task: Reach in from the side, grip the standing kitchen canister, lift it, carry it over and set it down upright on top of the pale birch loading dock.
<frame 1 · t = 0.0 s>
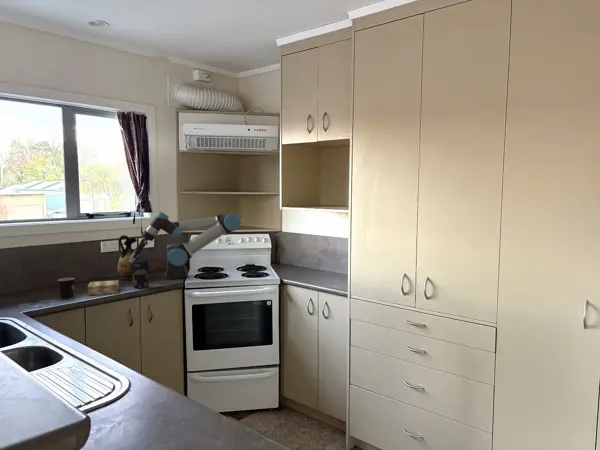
hand: (130, 260, 287), 15 cm above the counter, tool tilted 35°, fingers open, 13 cm apart
coffee mug: (69, 296, 257), on the counter
dock: (103, 291, 268), on the counter
ceramic jug: (128, 278, 307), on the counter
canister: (141, 287, 279), on the counter
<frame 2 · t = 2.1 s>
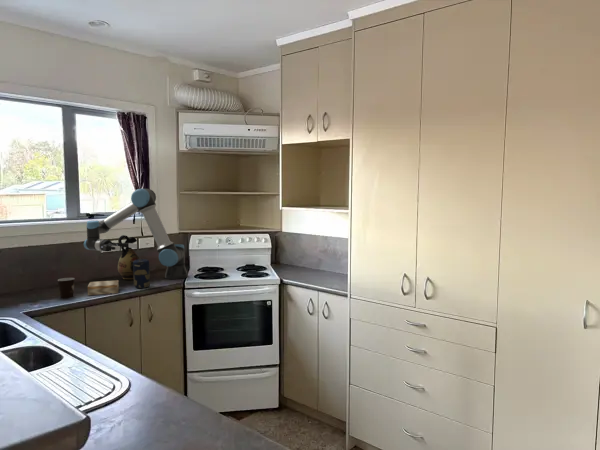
hand: (128, 247, 281), 25 cm above the counter, tool horizontal, fingers open, 13 cm apart
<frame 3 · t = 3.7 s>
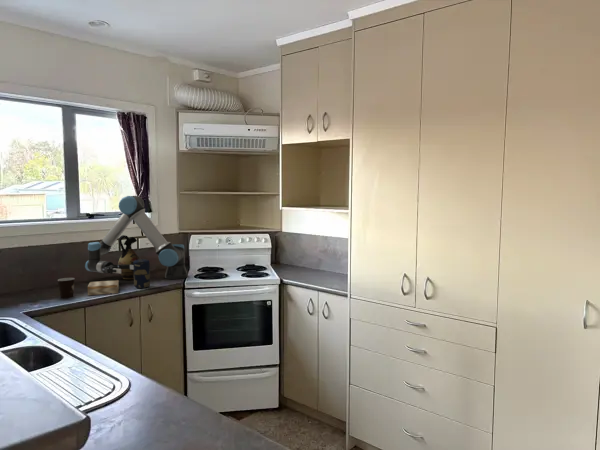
hand: (129, 269, 282), 10 cm above the counter, tool horizontal, fingers open, 13 cm apart
nothing on the counter moved.
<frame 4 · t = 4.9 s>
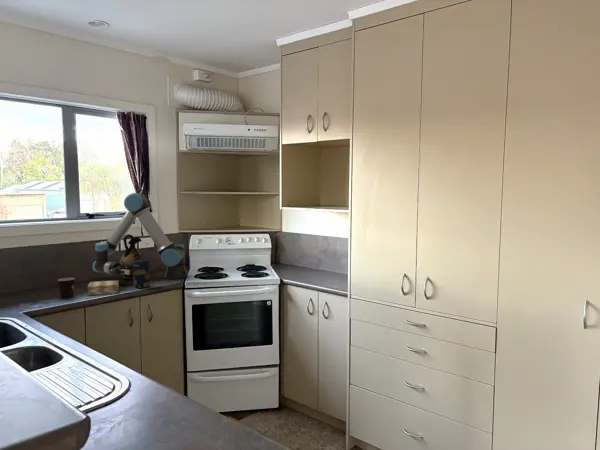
hand: (137, 270, 279), 10 cm above the counter, tool horizontal, fingers open, 13 cm apart
ceramic jug: (128, 277, 307), point 1 cm above the counter, touching arm
everything else where it was.
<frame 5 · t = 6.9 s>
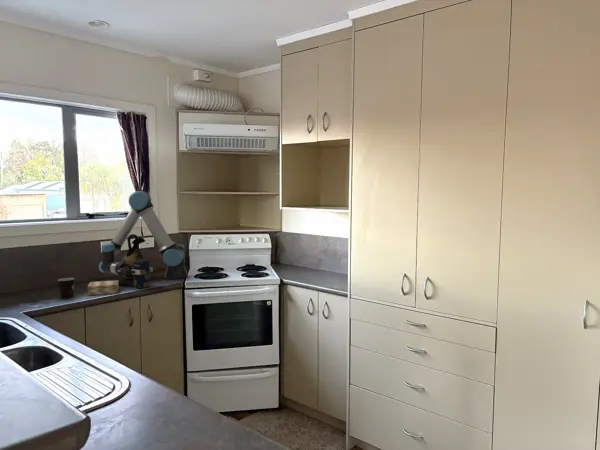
hand: (146, 270, 277), 11 cm above the counter, tool horizontal, fingers closed on canister, 10 cm apart
canister: (142, 287, 279), on the counter, touching gripper
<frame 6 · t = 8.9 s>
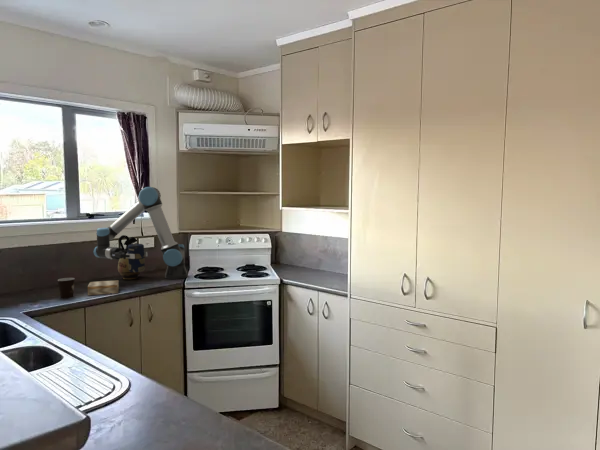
hand: (140, 255, 275), 20 cm above the counter, tool horizontal, fingers closed on canister, 10 cm apart
ceramic jug: (129, 278, 307), on the counter
canister: (136, 271, 277), point 10 cm above the counter, touching gripper
everything else where it was.
when the fingers open (17 cm above the counter, at t = 11.6 s): canister drops 1 cm, resting on dock.
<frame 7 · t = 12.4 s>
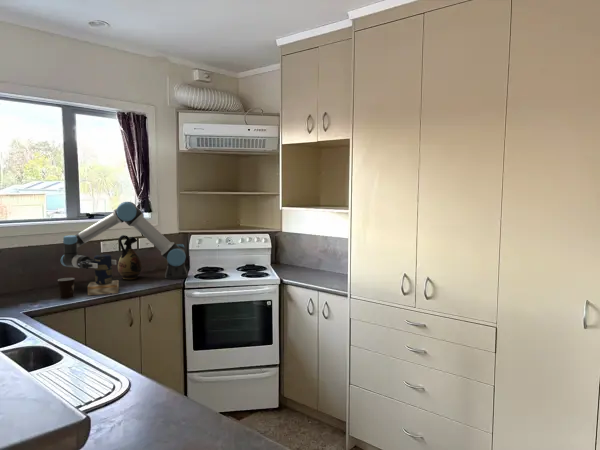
hand: (106, 264, 265), 17 cm above the counter, tool horizontal, fingers open, 13 cm apart
canister: (103, 283, 267), point 5 cm above the counter, touching dock
everything else where it was.
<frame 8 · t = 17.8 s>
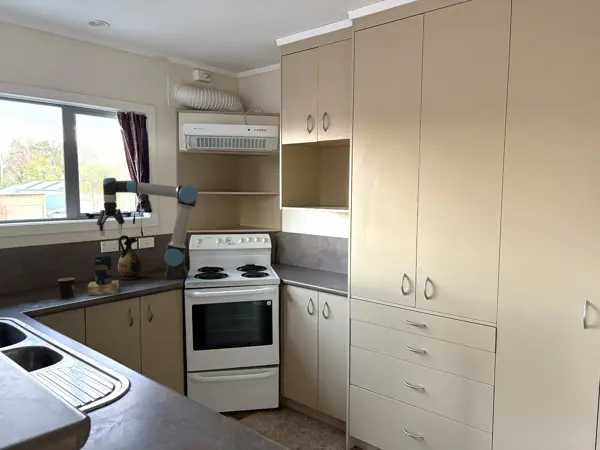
hand: (111, 235, 287), 32 cm above the counter, tool pointing down, fingers open, 13 cm apart
nothing on the counter moved.
at the end: canister inside the target area on the dock (0.4 cm from its centre), point 4.8 cm above the dock's base; canister tilted 0°; the gripper is holding nothing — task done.
